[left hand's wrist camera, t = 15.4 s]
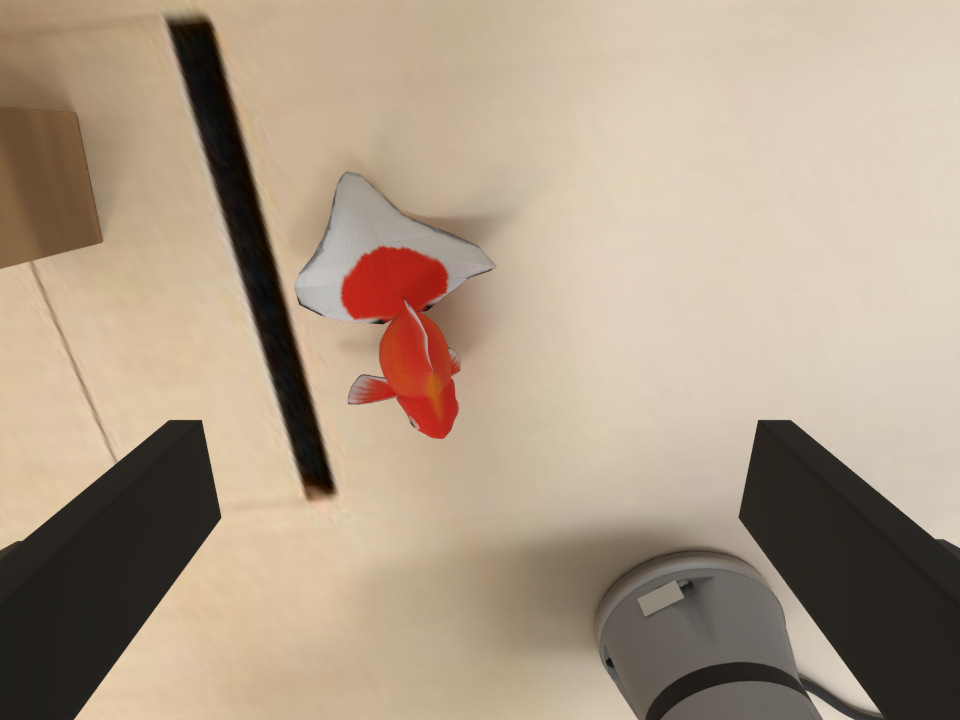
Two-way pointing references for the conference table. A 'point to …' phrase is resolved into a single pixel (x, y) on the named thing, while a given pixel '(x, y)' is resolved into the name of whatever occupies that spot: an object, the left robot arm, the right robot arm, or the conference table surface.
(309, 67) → the conference table surface
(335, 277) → the fish
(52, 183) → the block
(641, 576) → the left robot arm
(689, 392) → the conference table surface
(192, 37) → the conference table surface
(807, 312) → the conference table surface
